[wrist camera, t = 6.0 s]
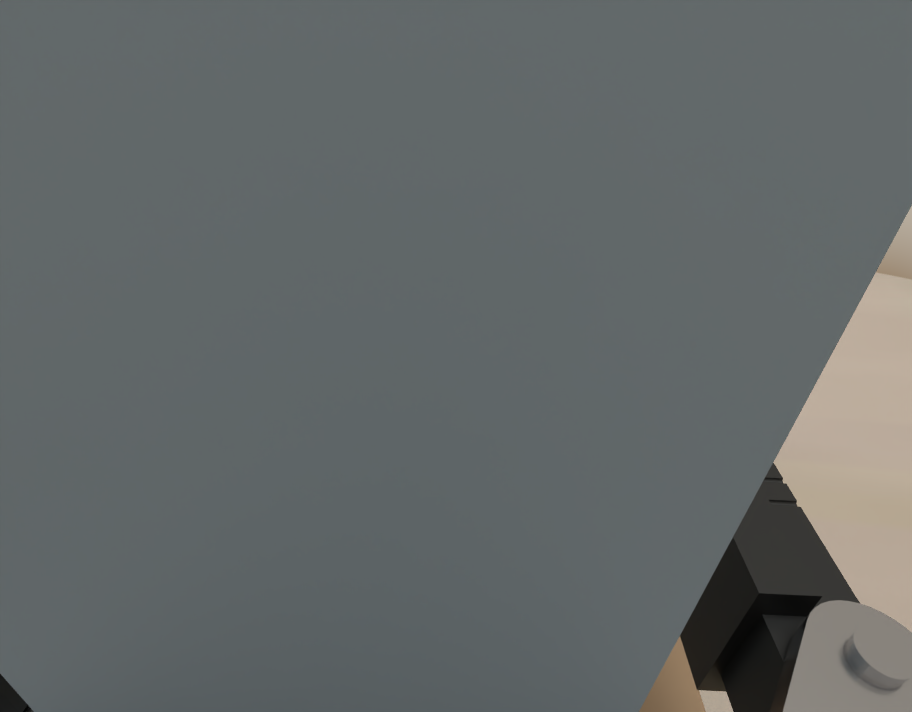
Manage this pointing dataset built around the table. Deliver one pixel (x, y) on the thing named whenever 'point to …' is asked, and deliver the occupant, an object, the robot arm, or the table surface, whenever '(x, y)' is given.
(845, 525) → the table surface
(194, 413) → the cover panel
